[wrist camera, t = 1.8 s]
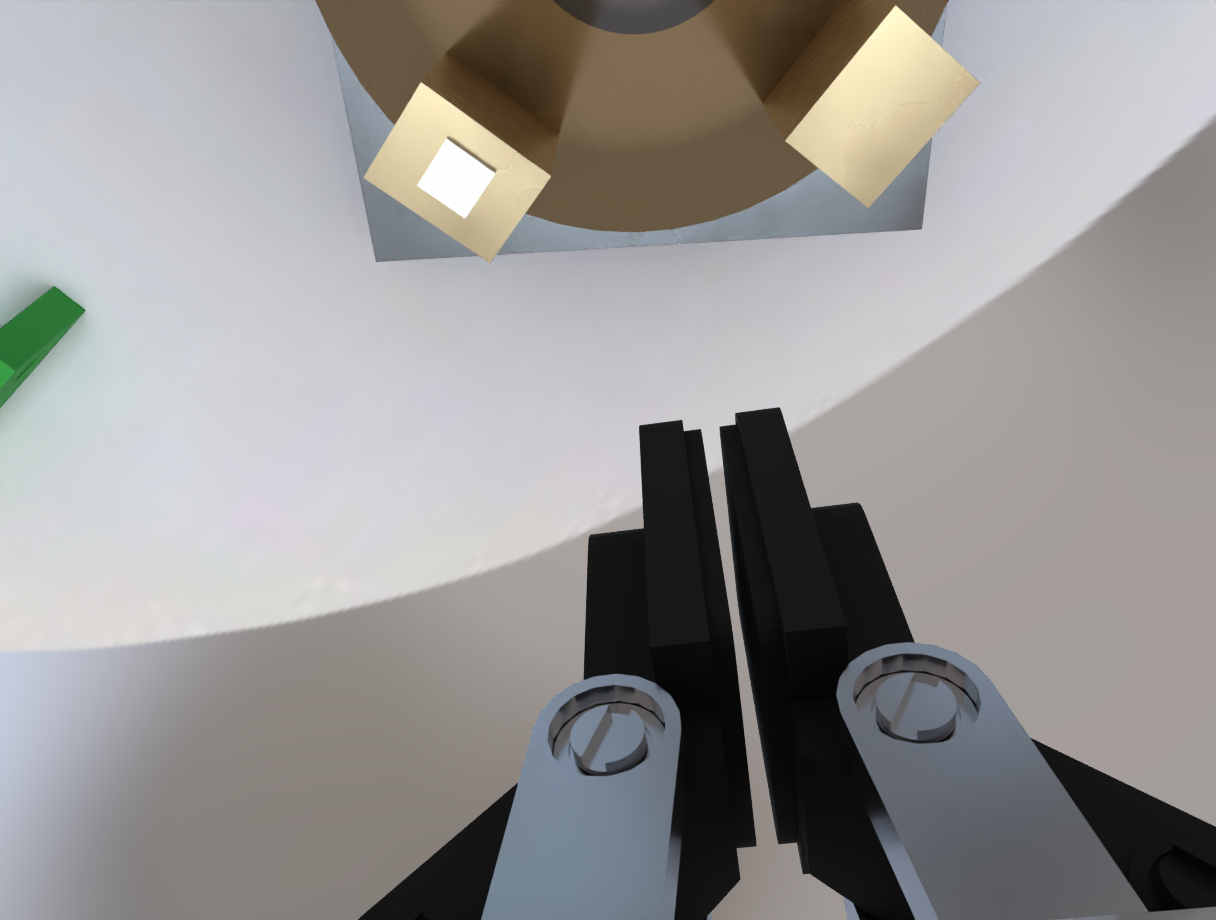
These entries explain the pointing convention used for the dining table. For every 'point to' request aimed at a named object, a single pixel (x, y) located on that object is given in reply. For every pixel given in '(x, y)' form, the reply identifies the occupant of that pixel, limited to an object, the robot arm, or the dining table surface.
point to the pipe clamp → (33, 337)
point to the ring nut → (640, 104)
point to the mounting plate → (787, 214)
